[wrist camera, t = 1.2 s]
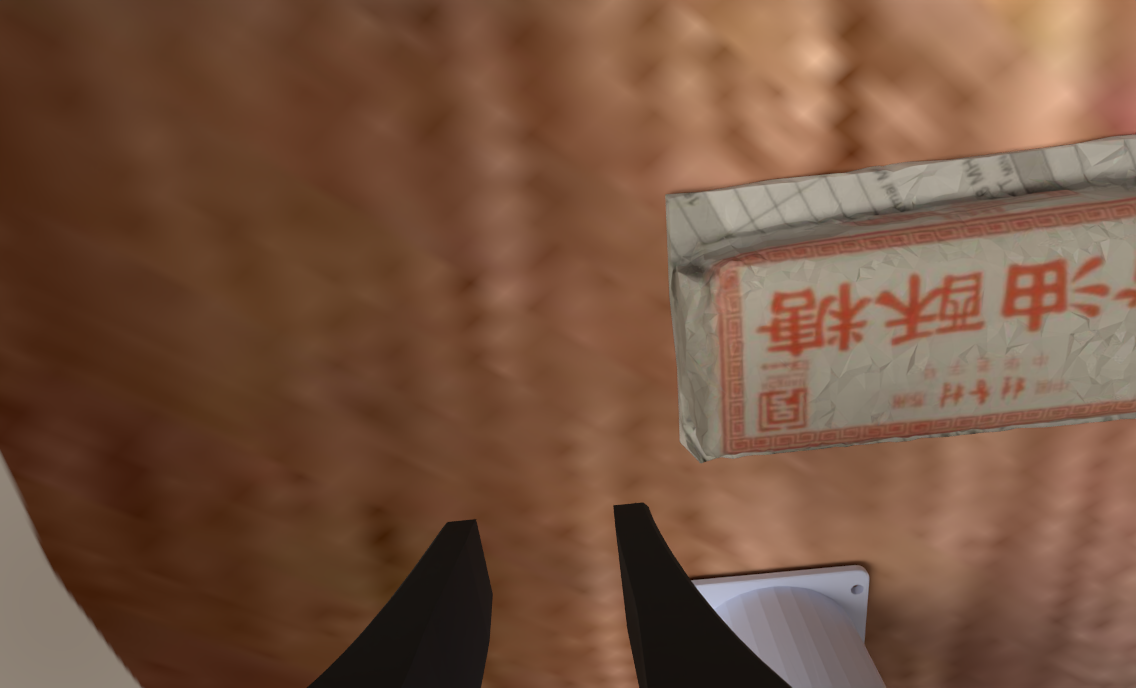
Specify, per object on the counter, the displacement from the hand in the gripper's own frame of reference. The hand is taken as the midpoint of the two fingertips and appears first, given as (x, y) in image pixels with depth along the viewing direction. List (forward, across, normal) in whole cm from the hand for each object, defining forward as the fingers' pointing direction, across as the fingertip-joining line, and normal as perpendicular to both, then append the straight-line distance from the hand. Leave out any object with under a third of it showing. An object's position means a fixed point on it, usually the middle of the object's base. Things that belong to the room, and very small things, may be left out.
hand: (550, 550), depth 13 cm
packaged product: (+11, -13, 0) cm, 17 cm away
